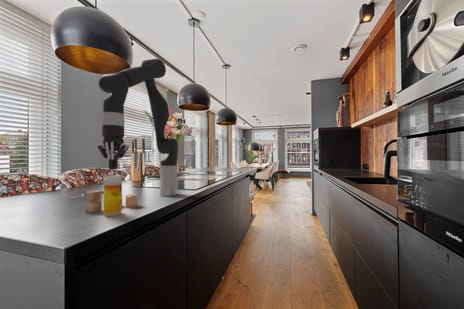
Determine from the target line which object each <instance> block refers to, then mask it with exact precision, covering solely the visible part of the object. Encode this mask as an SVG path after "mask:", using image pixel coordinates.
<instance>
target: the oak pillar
mask: <svg viewBox="0 0 464 309" xmlns="http://www.w3.org/2000/svg"><path fill="white" fill-rule="evenodd" d="M102 192H103V191H102V190H89V191H86V192H85V204H84V205H85V209H84V210H85V211H84V212H85V213H86V212H88V213H94V212H95V213H96V212H100V211H102V194H103V193H102Z"/></svg>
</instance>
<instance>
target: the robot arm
mask: <svg viewBox="0 0 464 309" xmlns="http://www.w3.org/2000/svg"><path fill="white" fill-rule="evenodd" d="M166 72H167V69H166V65H165V63H164V62H163V61H162V59H160V58H150V59H144V60H142V61H141V63H140V66H136V67H130V68H126V69H123V70H121V71H117V72H112V73H107V74H103V75H102V76H100V77H99V80H98V86H99V88H100V90H101V91H102V92H104V93H106V94H111V95H110V96H108V97H105V98H104V99H103V102H102V103H103V106H102V108H103V109H102V111H103V113H102V118H101V120H102V122H101V123H102V125H101V130H102V131H101V132H102V133H101V137H103V140H102V144H101V145H97V149H98V150H99V152H100V153H101V155H102V157H103V158H104V159H107V160H108V169H109V170H114V171H115V170H117V169H118V165H119V164H118V162H119V160H120V159H123V157H124V155H125V154H126V152H127V151H128V149H130V146H129V145H127V144H126V143H125V141H124V138H125V106H124V105H125V102H126V100H127V96H128V93H129V88H132V87H134V86H136V85H140V84H142V83H143V82H144V85H145V88H146V91H147V95H148V100H149V104H150V105H149V106H150V112H151V115H152V120H153V125H154V126H153V127H154V131H155V132H154V133H155V142H156V149H157V151H158V153H160V154H162V155H167V157H166V158H164V159H162V160H161V161H160V164H159V167H160V170H159V171H160V173H159V174H160V176H159V179H160V180H159V182H160V183H159V184H160V185H159V187H160V188H159V195H160V196H162V197H172V196H176V195H177V194H178V177H177V176H178V170H177V168H178V158H179V157H178V156H179V142H178V140H177V139H176V138H174V137H171V138H170V137H169V138H168V137H166V133H165V129H166V126H167V124H168V121H169V119H170V111H169V105H168V102H167V100H166V99H165V97H164V96H163V94H161V92H160V91H159V89H158V88H157V85H156V82H155V79H161V78H163V77H165V75H166Z"/></svg>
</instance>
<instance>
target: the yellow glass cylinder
mask: <svg viewBox="0 0 464 309" xmlns="http://www.w3.org/2000/svg"><path fill="white" fill-rule="evenodd" d="M122 207H123V178H122V176H121V175H119V174H118V175H116V174H115V175H114V174H113V175H105V177H104V178H103V214H104V216H106V217H114V216H118V215H121V213H122V211H123V210H122V209H123V208H122Z"/></svg>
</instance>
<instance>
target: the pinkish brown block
mask: <svg viewBox="0 0 464 309" xmlns="http://www.w3.org/2000/svg"><path fill="white" fill-rule="evenodd" d="M138 207H139V194H135V193H132V194H127V195H125V208H126V209H132V208H138Z"/></svg>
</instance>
